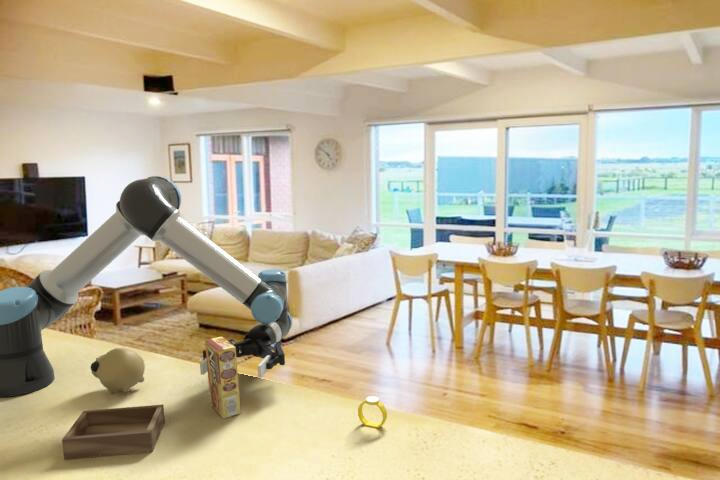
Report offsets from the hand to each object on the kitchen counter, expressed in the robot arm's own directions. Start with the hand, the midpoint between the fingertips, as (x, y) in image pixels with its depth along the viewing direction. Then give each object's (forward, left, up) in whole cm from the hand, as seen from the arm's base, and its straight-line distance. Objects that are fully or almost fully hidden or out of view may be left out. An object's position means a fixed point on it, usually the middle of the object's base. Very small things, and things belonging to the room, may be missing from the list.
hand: (230, 370), depth 130 cm
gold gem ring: (+16, +30, -8) cm, 34 cm away
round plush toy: (-12, -27, -8) cm, 31 cm away
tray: (+13, -21, -8) cm, 26 cm away
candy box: (+3, -1, -8) cm, 9 cm away
